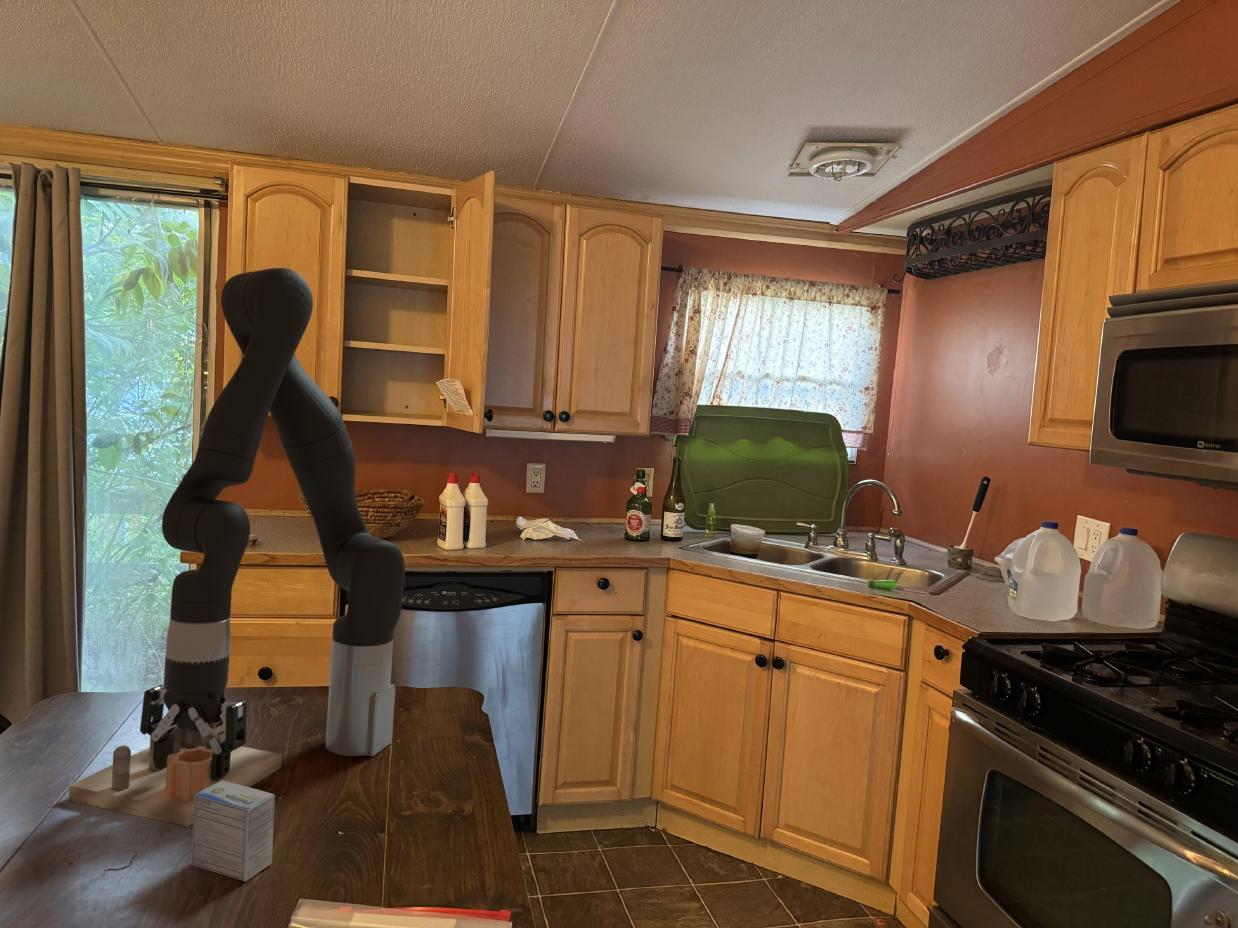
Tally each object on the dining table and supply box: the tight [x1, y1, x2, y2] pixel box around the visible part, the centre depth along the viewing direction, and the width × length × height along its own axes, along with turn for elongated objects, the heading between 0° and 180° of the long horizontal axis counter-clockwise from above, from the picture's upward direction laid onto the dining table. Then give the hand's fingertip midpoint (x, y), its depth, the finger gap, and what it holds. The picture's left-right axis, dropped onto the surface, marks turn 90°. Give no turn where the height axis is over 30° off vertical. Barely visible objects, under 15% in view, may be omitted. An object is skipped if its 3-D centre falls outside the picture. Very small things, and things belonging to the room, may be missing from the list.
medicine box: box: [190, 781, 276, 882], centre depth 98 cm, size 8×4×9 cm, turn 71°
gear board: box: [68, 722, 283, 827], centre depth 117 cm, size 18×19×9 cm
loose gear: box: [166, 746, 220, 801], centre depth 112 cm, size 6×6×4 cm
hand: (190, 772), depth 112 cm, fingers open, 8 cm apart
